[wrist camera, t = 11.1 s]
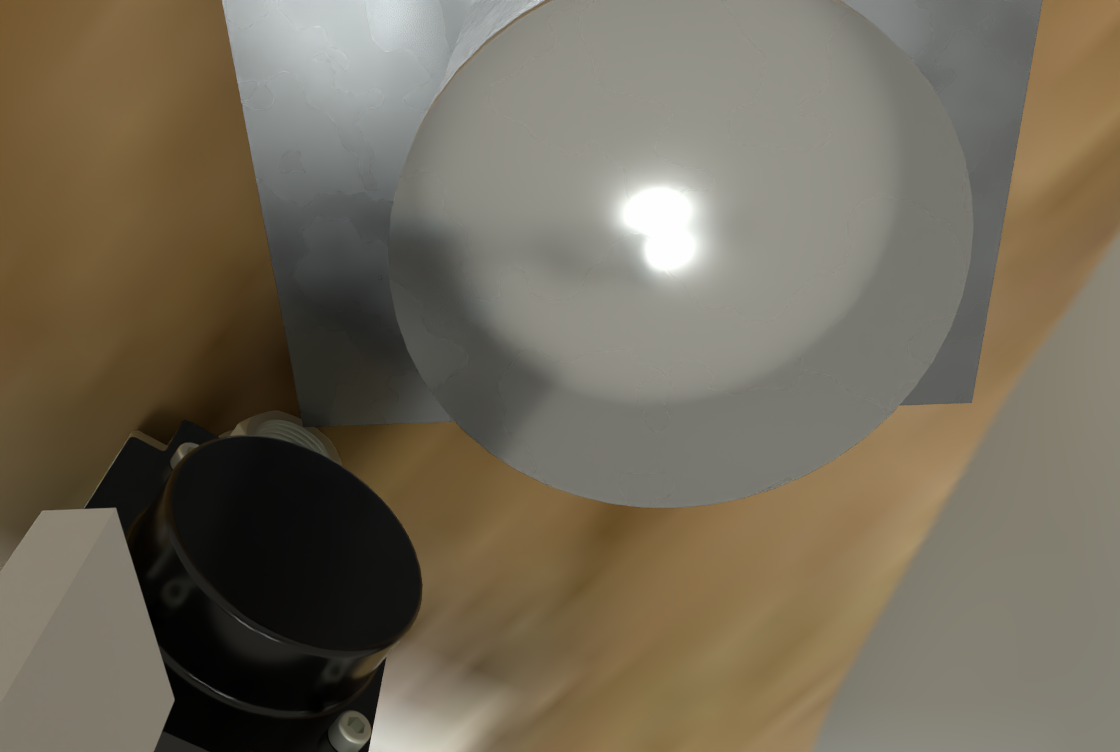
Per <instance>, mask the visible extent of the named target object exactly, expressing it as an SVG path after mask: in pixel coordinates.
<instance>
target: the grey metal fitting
mask: <svg viewBox="0 0 1120 752" xmlns="http://www.w3.org/2000/svg"><path fill="white" fill-rule="evenodd" d="M973 227H974V226H973V208H972V190H971V186H970V181H969V176H968V171H967V166H966V161H965V156H964V153H963V150H962V148H961V145H960V142H959V139H958V137H957V134H956V131H955V129H954V126H953V123H952V121H951V119H950V117H949V115H948V113H947V111H946V110H945V108H944V106H943V104H942V102H941V101H940V99H939V97H938V95H937V93H936V92H935V90H934V88H933V87H932V85H931V84H930V83H929V81H928V80H927V79H926V78H925V76H924V75H923V74H922V72H921V71H920V70H919V69H918V67H917V66H916V65H915V63H914V62H913V61H912V60H911V58H910V57H909V56H908V55H907V54H906V53H905V52H904V51H903V50H902V49H901V48H899V47H898V46H897V45H896V44H895V43H894V42H893V41H892V40H891V39H890V38H889V37H888V36H887V35H886V34H885V33H884V32H882V31H881V30H880V29H879V28H878V27H877V26H875V25H874V24H873V23H872V22H870V21H869V20H868V19H867V18H865V17H864V16H863V15H861V14H860V13H858V12H857V11H855V10H854V9H853V8H851V7H850V6H848V5H847V4H845V3H844V2H842V1H841V0H476V1H475V2H474V3H473V5H472V6H471V7H470V8H469V9H468V12H467V14H466V17H465V20H464V23H463V25H462V28H461V31H460V34H459V37H458V39H457V42H456V45H455V48H454V50H453V53H452V56H451V59H450V61H449V64H448V67H447V70H446V73H445V75H444V78H443V81H442V84H441V86H440V89H439V91H438V92H437V94H436V96H435V97H434V99H433V101H432V103H431V105H430V106H429V108H428V110H427V112H426V114H425V116H424V117H423V119H422V121H421V123H420V125H419V127H418V130H417V132H416V135H415V137H414V140H413V143H412V145H411V148H410V151H409V153H408V156H407V158H406V161H405V164H404V166H403V169H402V172H401V174H400V177H399V180H398V184H397V189H396V193H395V197H394V202H393V206H392V211H391V215H390V227H389V240H388V265H389V282H390V289H391V294H392V299H393V304H394V309H395V314H396V319H397V322H398V324H399V327H400V330H401V333H402V336H403V338H404V341H405V344H406V347H407V350H408V352H409V354H410V356H411V358H412V360H413V362H414V364H415V365H416V367H417V369H418V371H419V373H420V375H421V377H422V379H423V381H424V382H425V384H426V385H427V386H428V388H429V389H430V391H431V392H432V394H433V395H434V396H435V398H436V399H437V401H438V402H439V403H440V405H441V406H442V408H443V409H444V410H445V411H446V412H447V413H448V414H449V415H450V416H451V417H452V418H453V420H454V421H455V422H456V423H457V424H458V425H459V426H460V427H461V428H462V429H463V430H464V431H465V432H466V433H467V434H468V435H469V436H470V437H472V438H473V439H474V440H475V441H476V442H478V443H479V444H480V445H481V446H482V447H484V448H485V449H486V450H487V451H488V452H490V453H491V454H493V455H494V456H496V457H497V458H499V459H500V460H502V461H503V462H505V463H506V464H508V465H509V466H511V467H513V468H514V469H516V470H517V471H519V472H521V473H523V474H525V475H527V476H529V477H531V478H533V479H536V480H538V481H540V482H542V483H544V484H546V485H548V486H551V487H554V488H557V489H559V490H562V491H565V492H568V493H571V494H573V495H576V496H580V497H584V498H589V499H593V500H597V501H601V502H605V503H610V504H618V505H626V506H634V507H646V508H681V507H692V506H703V505H711V504H716V503H722V502H727V501H732V500H737V499H742V498H745V497H749V496H752V495H755V494H758V493H762V492H765V491H768V490H771V489H775V488H777V487H779V486H782V485H784V484H786V483H789V482H791V481H793V480H796V479H798V478H800V477H803V476H805V475H807V474H809V473H811V472H813V471H814V470H816V469H818V468H820V467H821V466H823V465H825V464H827V463H829V462H830V461H832V460H834V459H836V458H837V457H839V456H840V455H842V454H843V453H844V452H846V451H847V450H849V449H850V448H851V447H853V446H854V445H856V444H857V443H858V442H860V441H861V440H863V439H864V438H865V437H866V436H867V435H869V434H870V433H871V432H872V431H873V430H874V429H875V428H876V427H878V426H879V425H880V424H881V423H882V422H883V421H884V420H885V419H887V418H888V417H889V416H890V415H891V414H892V413H893V412H894V410H895V409H896V408H897V407H898V406H899V405H900V404H901V403H902V402H903V400H904V399H905V398H906V397H907V396H908V395H909V394H910V393H911V391H912V390H913V389H914V388H915V386H916V385H917V383H918V382H919V381H920V379H921V378H922V376H923V375H924V373H925V372H926V371H927V369H928V368H929V366H930V365H931V364H932V362H933V361H934V359H935V357H936V355H937V353H938V351H939V349H940V347H941V346H942V344H943V342H944V340H945V338H946V336H947V334H948V332H949V331H950V328H951V326H952V323H953V320H954V318H955V315H956V312H957V310H958V307H959V304H960V302H961V299H962V296H963V292H964V288H965V283H966V279H967V275H968V270H969V266H970V261H971V249H972V238H973Z"/></svg>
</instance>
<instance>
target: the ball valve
mask: <svg viewBox="0 0 1120 752" xmlns="http://www.w3.org/2000/svg"><path fill="white" fill-rule="evenodd" d="M98 508H116V510H117V513H118V517H119V520H120V523H121V526H122V530H123V533H124V536H125V540H126V543H127V546H128V549H129V553H130V556H131V559H132V562H133V566H134V569H135V572H136V575H137V579H138V582H139V585H140V588H141V592H142V595H143V598H144V601H145V605H146V608H147V611H148V615H149V618H150V621H151V624H152V628H153V631H154V634H155V637H156V641H157V644H158V647H159V650H160V654H161V657H162V660H163V663H164V667H165V670H166V673H167V676H168V680H169V683H170V686H171V690H172V693H173V696H174V699H175V700H174V703H173V705H172V708H171V710H170V713H169V715H168V718H167V720H166V722H165V725H164V727H163V730H162V732H161V735H160V737H159V740H158V742H157V745H156V747H155V750H154V752H368V750H369V745H370V740H371V735H372V729H373V724H374V719H375V714H376V708H377V703H378V698H379V693H380V687H381V682H382V677H383V672H384V666H385V661H386V656H387V655H388V654H389V653H390V652H391V651H392V650H393V648H394V647H395V646H396V645H397V644H398V643H399V642H400V640H401V639H402V638H403V637H404V636H405V635H406V634H407V632H408V631H409V630H410V628H411V627H412V625H413V623H414V622H415V620H416V617H417V615H418V612H419V610H420V605H421V601H422V586H423V585H422V577H421V569H420V565H419V562H418V559H417V555H416V552H415V549H414V547H413V545H412V542H411V540H410V538H409V536H408V535H407V533H406V531H405V529H404V528H403V526H402V524H401V523H400V522H399V520H398V519H397V517H396V516H395V514H394V513H393V512H392V511H391V509H390V508H389V507H388V506H387V505H386V503H385V502H384V501H383V500H382V499H381V498H380V497H379V496H378V495H377V494H376V493H375V492H374V491H373V490H372V489H371V488H370V487H369V486H368V485H366V484H365V483H364V482H363V481H361V480H360V479H359V478H358V477H356V476H355V475H354V474H353V473H351V472H350V471H348V470H347V469H345V468H344V467H343V466H342V462H341V459H340V457H339V454H338V452H337V450H336V448H335V447H334V445H333V443H332V442H331V441H330V439H329V438H328V437H326V436H325V435H324V434H323V433H322V432H320V431H319V430H318V429H317V428H315V427H303V425H302V419H300V418H298V417H295V416H293V415H290V414H288V413H285V412H282V411H278V410H275V411H268V412H264V413H260V414H258V415H255V416H252V417H250V418H248V419H246V420H244V421H242V422H240V423H238V425H237V426H236V427H235V429H234V430H231V431H227V432H225V433H223V434H221V435H220V436H216V435H214V434H212V433H210V432H208V431H207V430H205V429H203V428H201V427H199V426H197V425H195V424H194V423H192V422H190V421H187V420H184V421H183V422H182V423H181V425H180V426H179V428H178V429H177V431H176V432H175V434H174V436H173V437H172V439H171V440H170V442H169V443H168V445H165V444H163V443H161V442H159V441H157V440H156V439H154V438H152V437H150V436H148V435H146V434H144V433H142V432H140V431H139V430H135V431H132V432H131V434H130V435H129V437H128V438H127V440H126V441H125V443H124V445H123V446H122V448H121V449H120V451H119V453H118V454H117V456H116V457H115V459H114V460H113V462H112V464H111V465H110V467H109V468H108V470H107V472H106V473H105V475H104V476H103V478H102V480H101V481H100V483H99V484H98V486H97V488H96V489H95V491H94V492H93V494H92V496H91V497H90V499H89V500H88V502H87V504H86V505H85V507H84V509H98Z"/></svg>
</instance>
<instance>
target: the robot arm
mask: <svg viewBox="0 0 1120 752" xmlns="http://www.w3.org/2000/svg"><path fill="white" fill-rule="evenodd" d="M174 700H175V699H174V696H173V693H172V690H171V686H170V683H169V680H168V676H167V673H166V670H165V667H164V663H163V660H162V657H161V654H160V650H159V647H158V644H157V641H156V637H155V634H154V631H153V628H152V624H151V621H150V618H149V615H148V611H147V608H146V605H145V601H144V598H143V595H142V592H141V588H140V585H139V582H138V579H137V575H136V572H135V569H134V566H133V562H132V559H131V556H130V553H129V549H128V546H127V543H126V540H125V536H124V533H123V530H122V526H121V523H120V520H119V517H118V513H117V510H116V508H98V509H71V510H45V511H41V513H40V514H39V516H38V517H37V519H36V520H35V522H34V523H33V525H32V526H31V527H30V529H29V530H28V532H27V533H26V535H25V536H24V538H23V539H22V541H21V542H20V543H19V545H18V546H17V548H16V549H15V551H14V552H13V554H12V555H11V557H10V558H9V559H8V561H7V562H6V564H5V565H4V567H3V568H2V570H1V571H0V752H154V750H155V747H156V745H157V742H158V740H159V737H160V735H161V732H162V730H163V727H164V725H165V722H166V720H167V718H168V715H169V713H170V710H171V708H172V705H173V703H174Z"/></svg>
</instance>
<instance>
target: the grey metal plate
mask: <svg viewBox="0 0 1120 752" xmlns="http://www.w3.org/2000/svg"><path fill="white" fill-rule="evenodd" d="M475 1H476V0H222V3H223V8H224V13H225V19H226V24H227V29H228V34H229V40H230V45H231V50H232V56H233V61H234V66H235V71H236V77H237V82H238V87H239V92H240V98H241V103H242V108H243V114H244V119H245V124H246V129H247V135H248V140H249V145H250V150H251V156H252V161H253V166H254V171H255V177H256V182H257V187H258V193H259V198H260V203H261V208H262V214H263V219H264V224H265V229H266V235H267V240H268V245H269V251H270V256H271V261H272V266H273V272H274V277H275V282H276V287H277V293H278V298H279V303H280V309H281V314H282V319H283V324H284V330H285V335H286V340H287V345H288V351H289V356H290V361H291V367H292V372H293V377H294V382H295V388H296V393H297V398H298V403H299V409H300V414H301V419H302V425H303V427H323V426H350V425H378V424H405V423H432V422H455V421H454V420H453V418H452V417H451V416H450V415H449V414H448V413H447V412H446V411H445V410H444V409H443V408H442V406H441V405H440V403H439V402H438V401H437V399H436V398H435V396H434V395H433V394H432V392H431V391H430V389H429V388H428V386H427V385H426V384H425V382H424V381H423V379H422V377H421V375H420V373H419V371H418V369H417V367H416V365H415V364H414V362H413V360H412V358H411V356H410V354H409V352H408V350H407V347H406V344H405V341H404V338H403V336H402V333H401V330H400V327H399V324H398V322H397V319H396V314H395V309H394V304H393V299H392V294H391V289H390V282H389V265H388V240H389V227H390V215H391V211H392V206H393V202H394V197H395V193H396V189H397V184H398V180H399V177H400V174H401V172H402V169H403V166H404V164H405V161H406V158H407V156H408V153H409V151H410V148H411V145H412V143H413V140H414V137H415V135H416V132H417V130H418V127H419V125H420V123H421V121H422V119H423V117H424V116H425V114H426V112H427V110H428V108H429V106H430V105H431V103H432V101H433V99H434V97H435V96H436V94H437V92H438V91H439V89H440V86H441V84H442V81H443V78H444V75H445V73H446V70H447V67H448V64H449V61H450V59H451V56H452V53H453V50H454V48H455V45H456V42H457V39H458V37H459V34H460V31H461V28H462V25H463V23H464V20H465V17H466V14H467V12H468V9H469V8H470V7H471V6H472V5H473V3H474V2H475ZM841 1H842V2H844V3H845V4H847V5H848V6H850V7H851V8H853V9H854V10H855V11H857V12H858V13H860V14H861V15H863V16H864V17H865V18H867V19H868V20H869V21H870V22H872V23H873V24H874V25H875V26H877V27H878V28H879V29H880V30H881V31H882V32H884V33H885V34H886V35H887V36H888V37H889V38H890V39H891V40H892V41H893V42H894V43H895V44H896V45H897V46H898V47H899V48H901V49H902V50H903V51H904V52H905V53H906V54H907V55H908V56H909V57H910V58H911V60H912V61H913V62H914V63H915V65H916V66H917V67H918V69H919V70H920V71H921V72H922V74H923V75H924V76H925V78H926V79H927V80H928V81H929V83H930V84H931V85H932V87H933V88H934V90H935V92H936V93H937V95H938V97H939V99H940V101H941V102H942V104H943V106H944V108H945V110H946V111H947V113H948V115H949V117H950V119H951V121H952V123H953V126H954V129H955V131H956V134H957V137H958V139H959V142H960V145H961V148H962V150H963V153H964V156H965V161H966V166H967V171H968V176H969V181H970V186H971V190H972V208H973V226H974V227H973V238H972V249H971V261H970V266H969V270H968V275H967V279H966V283H965V288H964V292H963V296H962V299H961V302H960V304H959V307H958V310H957V312H956V315H955V318H954V320H953V323H952V326H951V328H950V331H949V332H948V334H947V336H946V338H945V340H944V342H943V344H942V346H941V347H940V349H939V351H938V353H937V355H936V357H935V359H934V361H933V362H932V364H931V365H930V366H929V368H928V369H927V371H926V372H925V373H924V375H923V376H922V378H921V379H920V381H919V382H918V383H917V385H916V386H915V388H914V389H913V390H912V391H911V393H910V394H909V395H908V396H907V397H906V398H905V399H904V400H903V402H902V403H901V404H900V405H923V404H951V403H972V398H973V392H974V387H975V381H976V375H977V370H978V364H979V358H980V353H981V347H982V341H983V336H984V330H985V324H986V318H987V313H988V307H989V301H990V296H991V290H992V284H993V279H994V273H995V267H996V262H997V256H998V250H999V245H1000V239H1001V233H1002V228H1003V222H1004V216H1005V210H1006V205H1007V199H1008V193H1009V188H1010V182H1011V176H1012V171H1013V165H1014V159H1015V154H1016V148H1017V142H1018V137H1019V131H1020V125H1021V120H1022V114H1023V108H1024V102H1025V97H1026V91H1027V85H1028V80H1029V74H1030V68H1031V63H1032V57H1033V51H1034V46H1035V40H1036V34H1037V29H1038V23H1039V17H1040V12H1041V6H1042V0H841Z"/></svg>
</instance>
